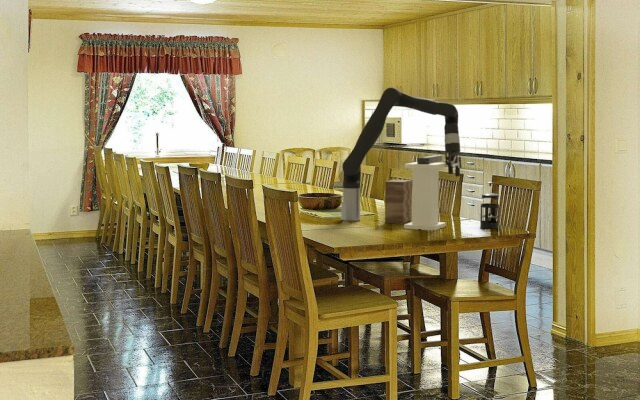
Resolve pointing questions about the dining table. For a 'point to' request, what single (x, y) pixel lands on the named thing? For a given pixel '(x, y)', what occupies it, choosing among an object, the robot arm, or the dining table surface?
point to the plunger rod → (429, 159)
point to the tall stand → (425, 196)
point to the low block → (398, 201)
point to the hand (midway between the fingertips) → (454, 175)
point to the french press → (493, 223)
